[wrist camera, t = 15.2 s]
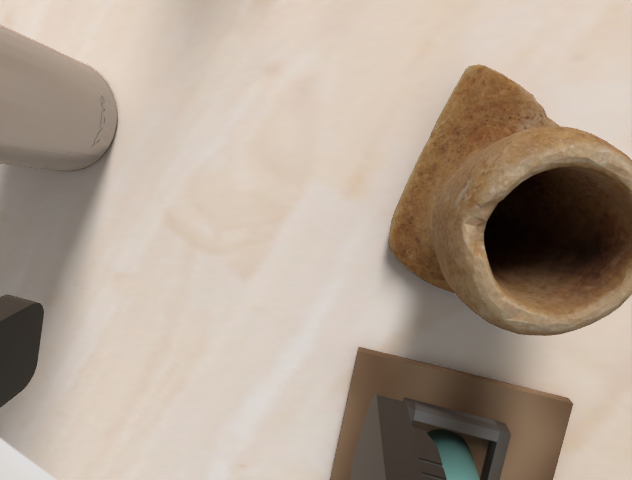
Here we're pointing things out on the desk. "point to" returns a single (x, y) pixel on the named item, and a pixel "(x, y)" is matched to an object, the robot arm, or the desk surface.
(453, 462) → the teal pillar
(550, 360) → the desk surface
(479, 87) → the brown hollow flared cylinder
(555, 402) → the walnut base board
